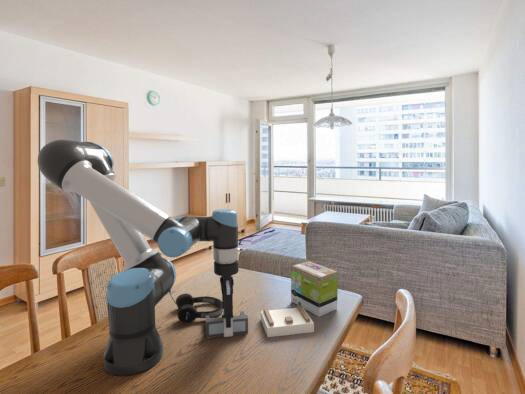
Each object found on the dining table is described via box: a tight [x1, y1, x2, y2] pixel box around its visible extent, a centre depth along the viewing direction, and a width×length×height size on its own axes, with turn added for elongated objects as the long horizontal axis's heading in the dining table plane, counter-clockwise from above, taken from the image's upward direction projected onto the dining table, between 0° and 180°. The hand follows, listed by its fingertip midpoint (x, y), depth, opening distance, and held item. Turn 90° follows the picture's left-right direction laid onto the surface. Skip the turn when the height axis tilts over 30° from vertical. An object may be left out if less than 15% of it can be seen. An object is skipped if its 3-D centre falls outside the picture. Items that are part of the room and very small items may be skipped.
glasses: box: [205, 310, 249, 339], centre depth 100 cm, size 11×13×5 cm
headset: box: [168, 289, 224, 324], centre depth 110 cm, size 14×10×20 cm
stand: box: [260, 304, 315, 338], centre depth 101 cm, size 11×15×4 cm
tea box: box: [290, 260, 339, 318], centre depth 114 cm, size 15×10×15 cm, turn 37°
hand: (227, 332), depth 97 cm, fingers open, 3 cm apart
